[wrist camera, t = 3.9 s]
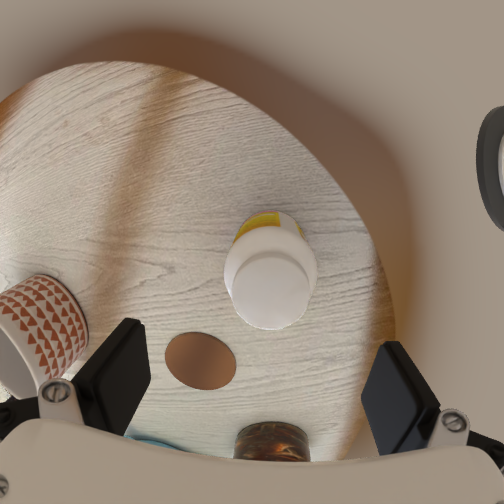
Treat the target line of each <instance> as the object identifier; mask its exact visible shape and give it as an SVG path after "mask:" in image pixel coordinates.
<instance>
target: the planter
mask: <svg viewBox="0 0 504 504" xmlns="http://www.w3.org/2000/svg"><path fill="white" fill-rule="evenodd" d="M87 342H88V331H87V326H86V322H85V319H84V316H83V314H82V311H81V309H80V307H79V306H78V304H77V302H76V301H75V299H74V298H73V296H72V295H71V294H70V292H69V291H68V290H67V289H66V288H65V287H64V286H63V285H62V284H61V283H59V282H58V281H57V280H55V279H54V278H52V277H49V276H47V275H42V274H38V275H34V276H32V277H30V278H28V279H26V280H24V281H22V282H21V283H19V284H17V285H15V286H14V287H12V288H10V289H8V290H7V291H5V292H3V293H1V294H0V384H1V385H2V386H3V387H4V388H5V389H6V390H7V391H8V392H9V393H10V394H12V395H13V396H14V397H16V398H17V399H19V400H20V399H25V398H31V397H36V396H38V389H39V387H40V385H41V384H43V383H44V382H45V381H47V380H49V379H52V378H61V376H62V375H63V374H64V373H65V372H66V371H67V370H68V369H69V367H70V366H71V365H72V364H73V363H74V362H75V361H76V360H77V359H78V358H79V356H80V355H81V354H82V353H83V352H84V350H85V349H86V346H87Z"/></svg>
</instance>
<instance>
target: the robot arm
mask: <svg viewBox="0 0 504 504" xmlns="http://www.w3.org/2000/svg"><path fill="white" fill-rule="evenodd" d="M498 173H499V180H500V185H501V189H502V192H503V196H504V135H503V137H502V139H501V142H500V147H499V153H498ZM150 380H151V373H150V367H149V359H148V352H147V344H146V335H145V326H144V325H143V324H141V322H140V320H137V319H132V318H125V319H124V320H123V321H122V322H121V323H120V324H119V325H118V326H117V327H116V329H115V330H114V331H113V332H112V333H111V334H110V335H109V337H108V338H107V339H106V340H105V341H104V342H103V343H102V345H101V346H100V347H99V348H98V349H97V350H96V351H95V353H94V354H93V355H92V356H91V357H90V359H89V360H88V361H87V362H86V363H85V364H84V366H83V367H82V368H81V369H80V370H79V372H78V373H77V374H76V375H75V376H74V378H73V379H72V380H71V381H68V380H66V379H63V378H52V379H49V380H47V381H45V382H44V383H43V384H41V385H40V387H39V389H38V396H36V397H31V398H25V399H20V400H15V401H9V402H3V403H0V504H504V444H503V443H501V442H499V441H497V440H494V439H491V438H488V437H486V436H483V435H481V434H478V433H476V432H473V431H470V421H469V419H468V417H467V416H466V415H465V414H464V413H463V412H461V411H459V410H456V409H445V410H443V411H442V412H441V411H440V409H439V407H440V403H439V402H438V400H437V398H436V397H435V395H434V393H433V392H432V390H431V389H430V387H429V386H428V384H427V382H426V381H425V379H424V378H423V376H422V375H421V373H420V372H419V370H418V369H417V367H416V366H415V364H414V363H413V361H412V360H411V358H410V357H409V355H408V354H407V352H406V351H405V349H404V348H403V346H402V345H401V344H400V342H398V341H386V342H384V343H383V345H380V347H379V349H378V352H377V355H376V358H375V360H374V363H373V366H372V369H371V371H370V374H369V376H368V379H367V382H366V384H365V387H364V389H363V392H362V394H361V401H362V404H363V407H364V410H365V413H366V416H367V419H368V421H369V424H370V427H371V430H372V433H373V436H374V439H375V442H376V445H377V448H378V452H379V455H380V456H376V457H368V458H360V459H351V460H338V461H320V462H272V461H254V460H242V459H232V458H223V457H215V456H208V455H202V454H195V453H190V452H184V451H179V450H174V449H169V448H165V447H161V446H156V445H152V444H148V443H144V442H140V441H136V440H133V439H129V438H126V437H123V435H124V433H125V431H126V429H127V427H128V425H129V423H130V421H131V419H132V417H133V415H134V413H135V411H136V409H137V407H138V405H139V403H140V401H141V400H142V398H143V396H144V394H145V392H146V390H147V388H148V386H149V384H150Z"/></svg>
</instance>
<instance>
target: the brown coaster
mask: <svg viewBox="0 0 504 504" xmlns="http://www.w3.org/2000/svg"><path fill="white" fill-rule="evenodd" d="M165 361H166V364H167V367H168V369H169V370H170V372H171V373H172V374H173V376H174V377H175V378H176V379H178V380H179V381H180V382H182V383H183V384H185V385H187V386H190V387H192V388H195V389H200V390H214V389H218V388H221V387H223V386H225V385H227V384H228V383H229V382H230V381H231V380H232V378H233V377H234V374H235V370H236V361H235V358H234V355H233V353H232V352H231V350H230V349H229V348H228V347H227V346H226V345H225V344H224V343H223V342H222V341H220V340H219V339H217V338H215V337H213V336H211V335H208V334H204V333H198V332H189V333H184V334H181V335H179V336H177V337H175V338H174V339H173V340H171V342H170V343H169V345H168V346H167V348H166V352H165Z"/></svg>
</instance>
